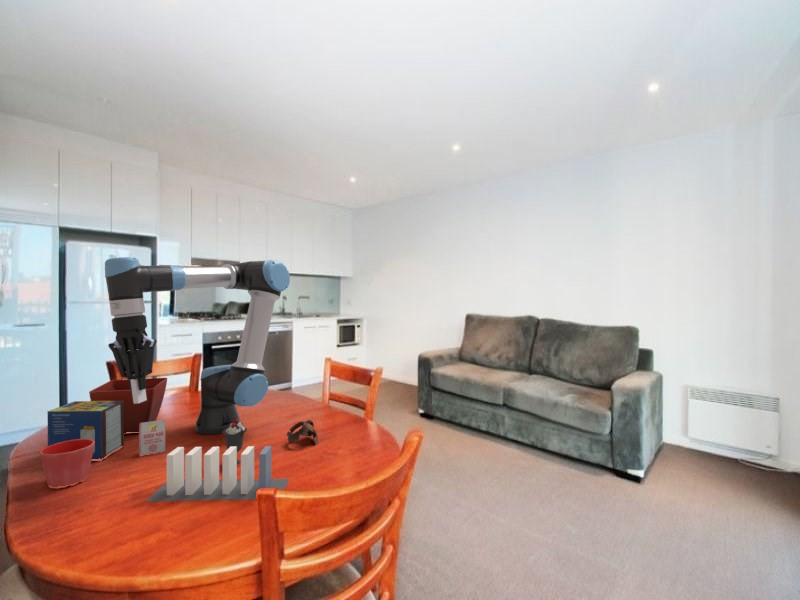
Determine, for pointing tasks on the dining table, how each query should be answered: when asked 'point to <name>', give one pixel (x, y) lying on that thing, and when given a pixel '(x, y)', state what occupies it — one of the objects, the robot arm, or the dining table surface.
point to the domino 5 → (247, 469)
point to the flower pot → (67, 461)
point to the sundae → (235, 435)
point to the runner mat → (214, 492)
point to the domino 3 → (211, 470)
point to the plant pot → (131, 411)
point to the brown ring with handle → (302, 431)
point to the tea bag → (151, 437)
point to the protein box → (88, 425)
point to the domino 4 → (229, 470)
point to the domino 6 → (265, 467)
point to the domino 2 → (193, 470)
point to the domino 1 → (175, 470)
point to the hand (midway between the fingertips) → (140, 401)
